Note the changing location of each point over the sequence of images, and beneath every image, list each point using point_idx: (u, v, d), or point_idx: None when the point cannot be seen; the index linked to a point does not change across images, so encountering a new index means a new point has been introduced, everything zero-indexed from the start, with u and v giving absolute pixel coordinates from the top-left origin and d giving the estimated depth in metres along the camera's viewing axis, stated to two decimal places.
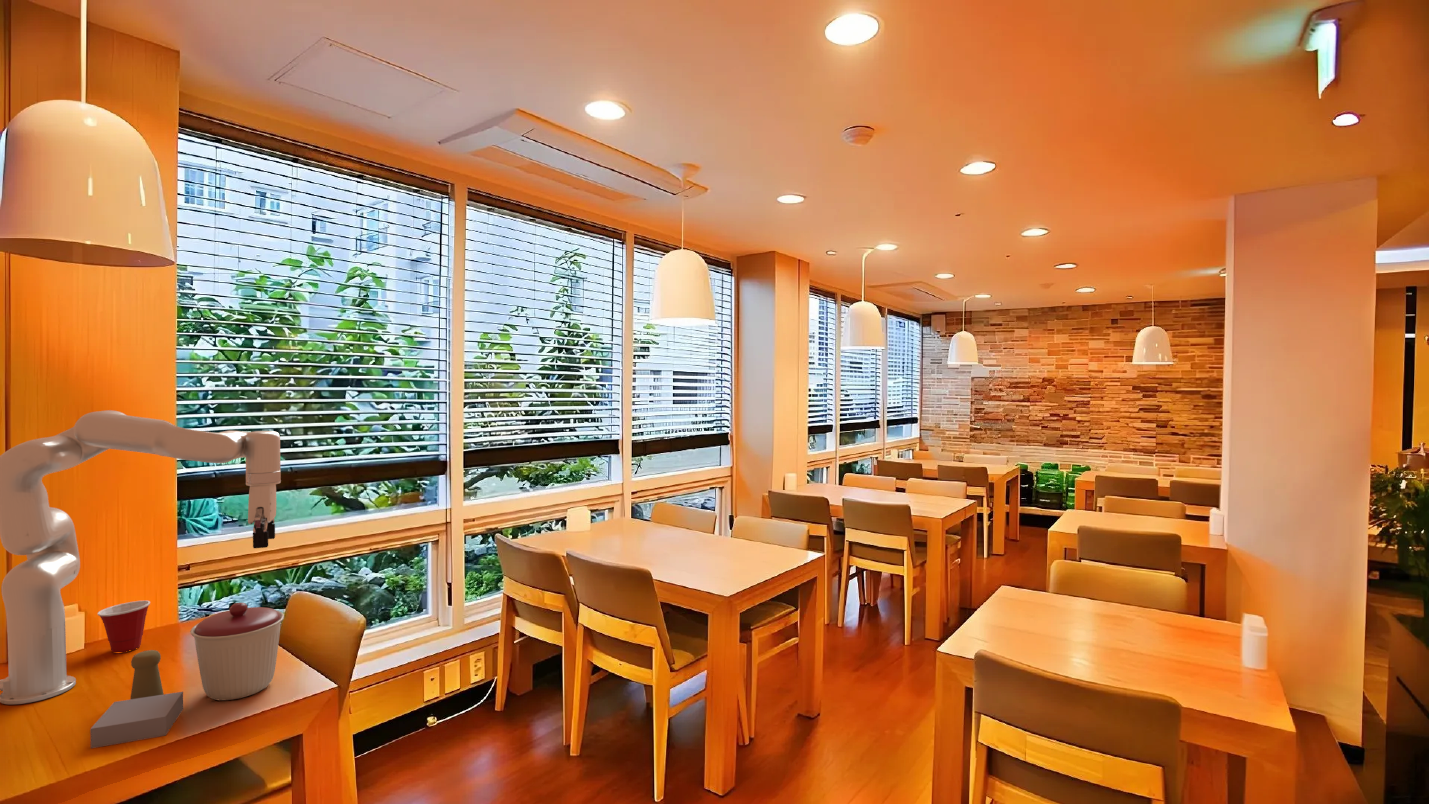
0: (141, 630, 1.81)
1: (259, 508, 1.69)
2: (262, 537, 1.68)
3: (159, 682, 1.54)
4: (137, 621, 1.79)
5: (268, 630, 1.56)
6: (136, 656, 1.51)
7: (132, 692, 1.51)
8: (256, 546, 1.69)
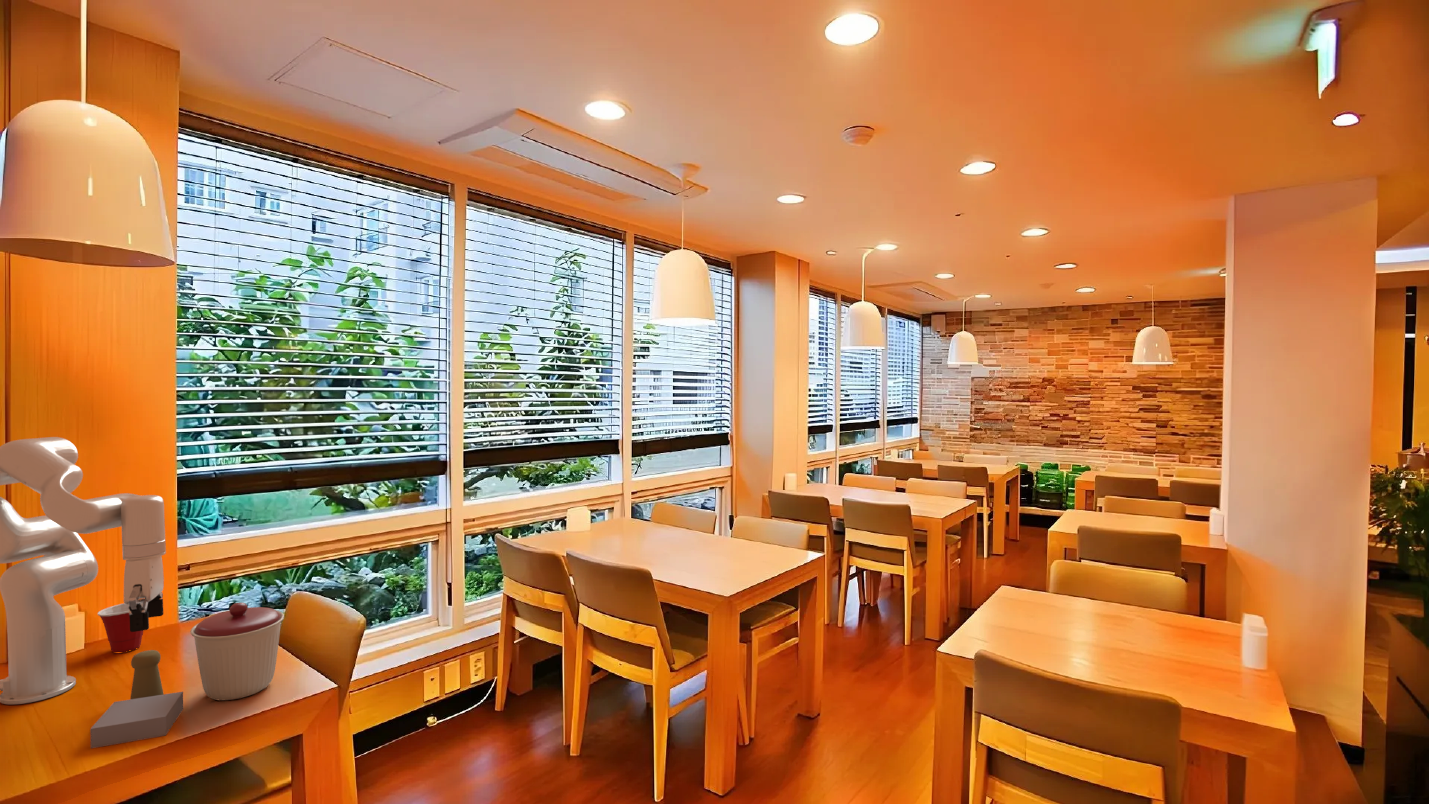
0: None
1: (136, 586, 1.48)
2: (140, 619, 1.48)
3: (159, 682, 1.54)
4: None
5: (268, 630, 1.56)
6: (136, 656, 1.51)
7: (132, 692, 1.51)
8: (134, 629, 1.48)
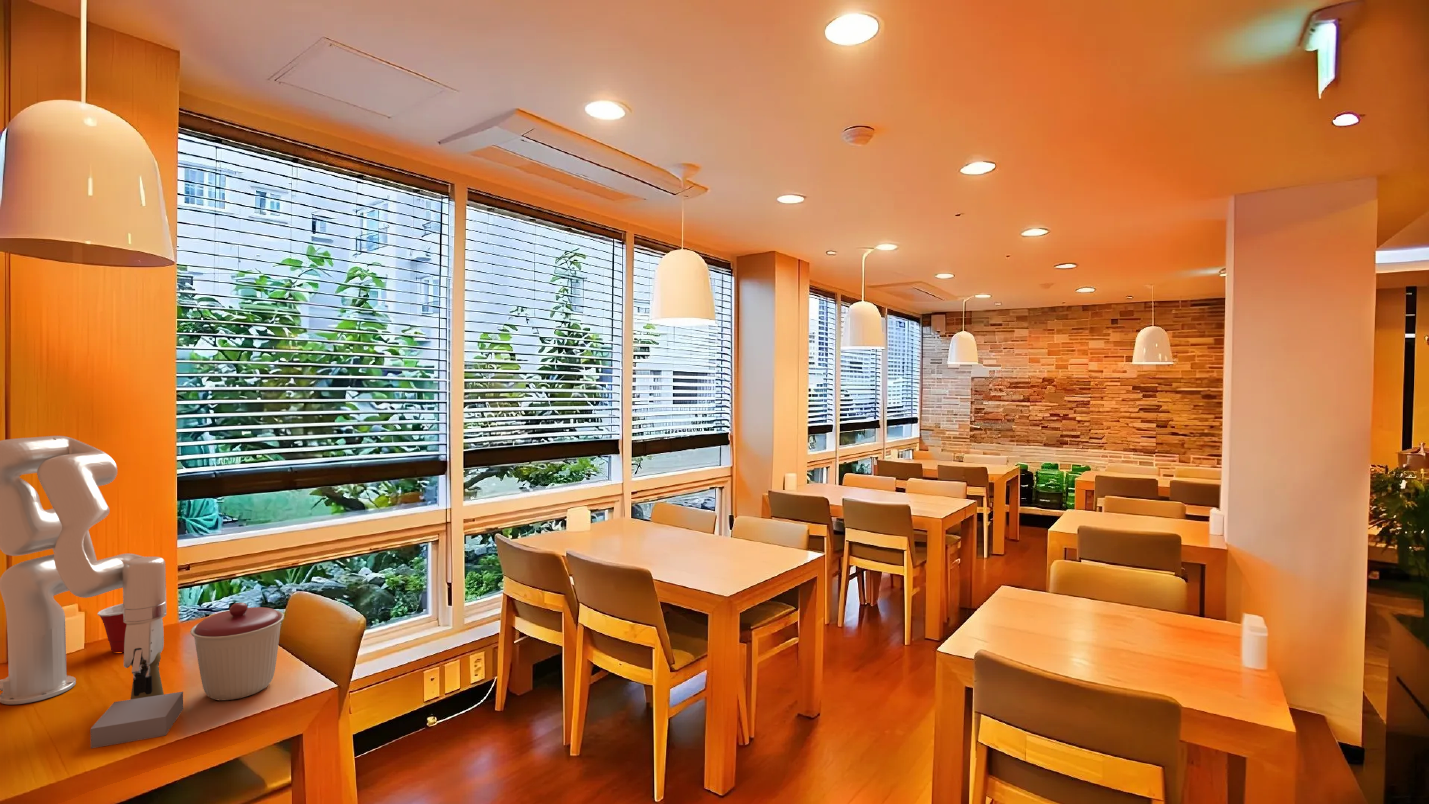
0: None
1: (137, 653, 1.48)
2: (144, 683, 1.50)
3: (159, 682, 1.54)
4: None
5: (268, 630, 1.56)
6: None
7: (132, 692, 1.51)
8: (138, 693, 1.51)
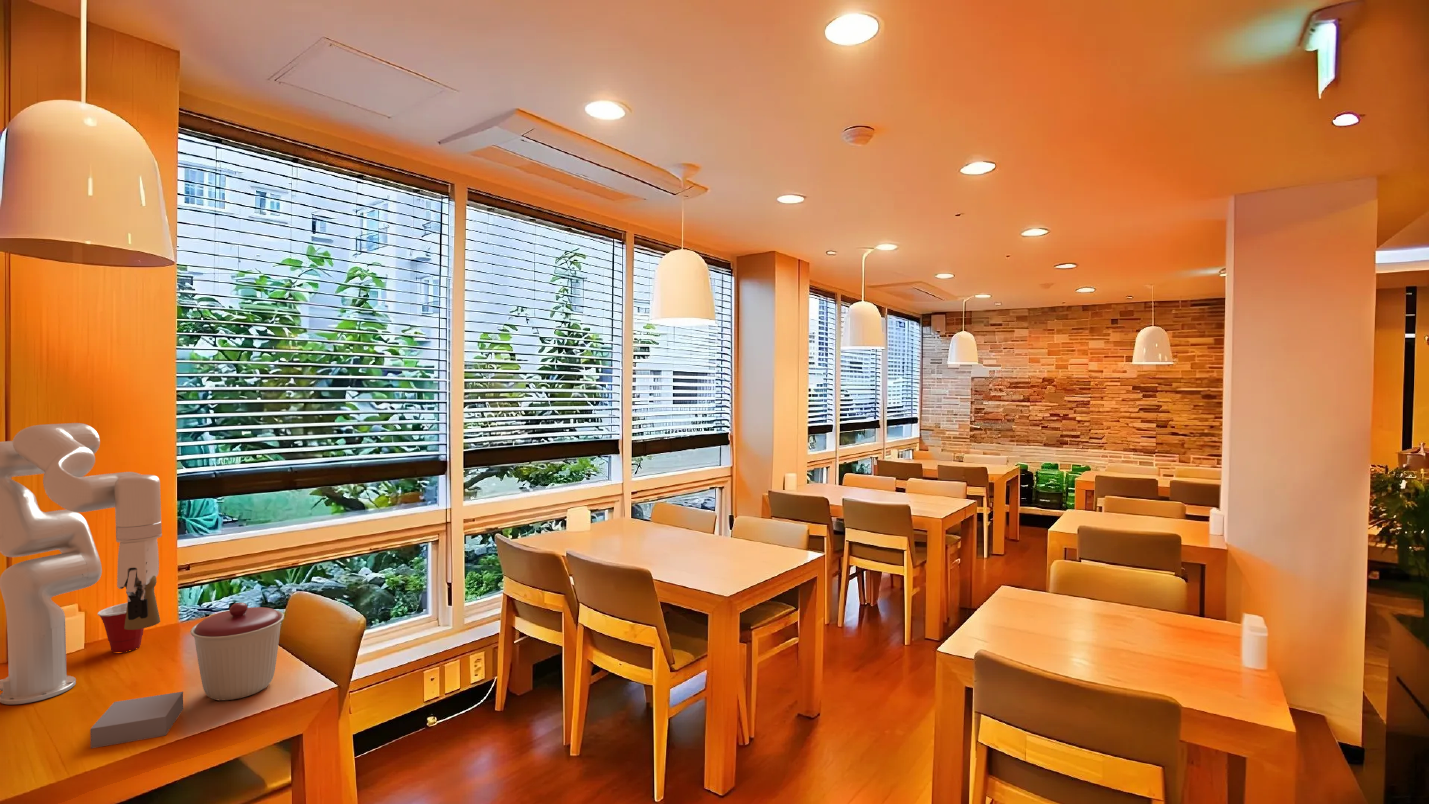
0: (141, 630, 1.81)
1: (132, 573, 1.40)
2: (139, 606, 1.42)
3: (155, 607, 1.46)
4: None
5: (268, 630, 1.56)
6: None
7: (127, 616, 1.43)
8: (132, 617, 1.42)
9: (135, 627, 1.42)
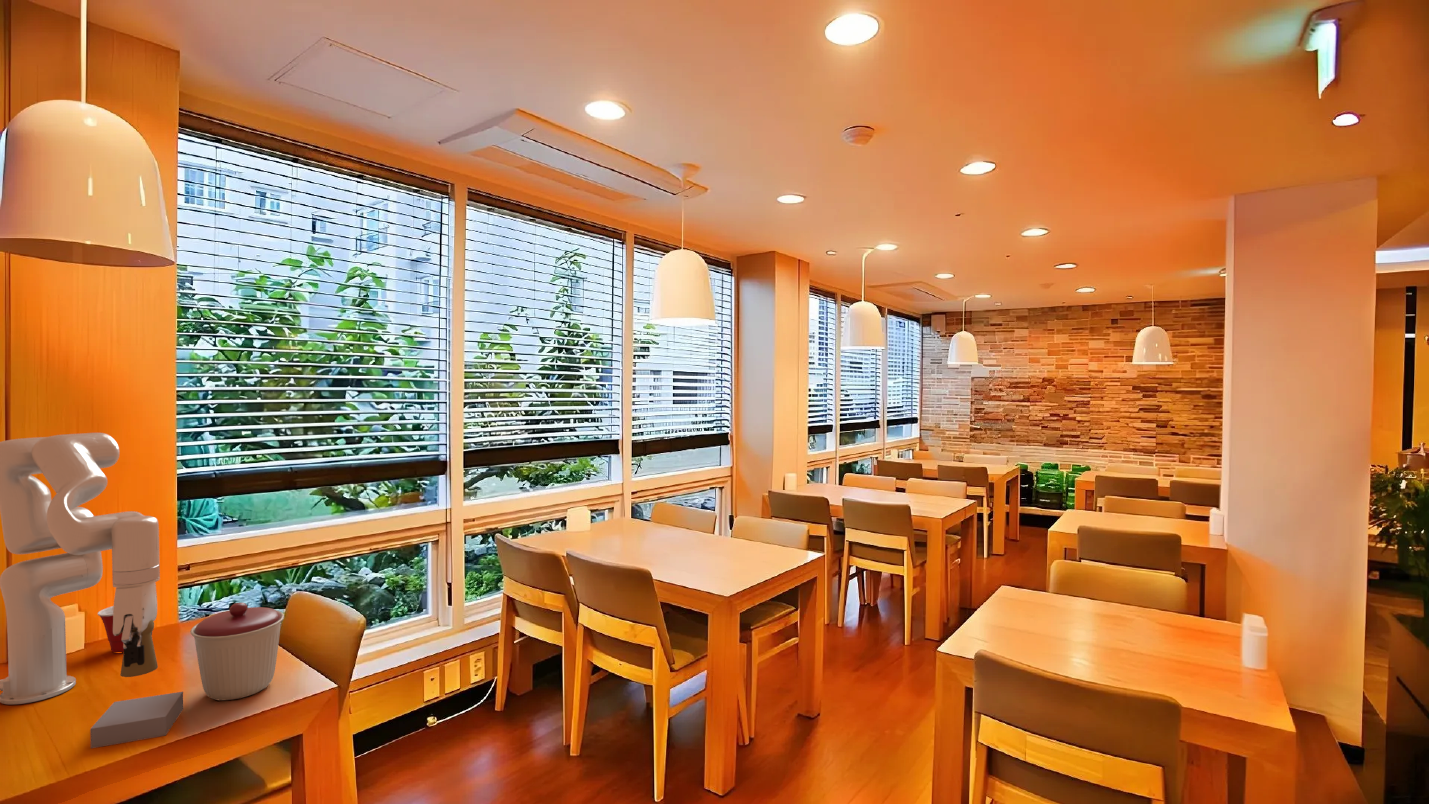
0: None
1: (128, 619, 1.36)
2: (136, 653, 1.38)
3: (153, 652, 1.41)
4: None
5: (268, 630, 1.56)
6: None
7: (123, 663, 1.38)
8: (128, 664, 1.38)
9: (131, 674, 1.38)
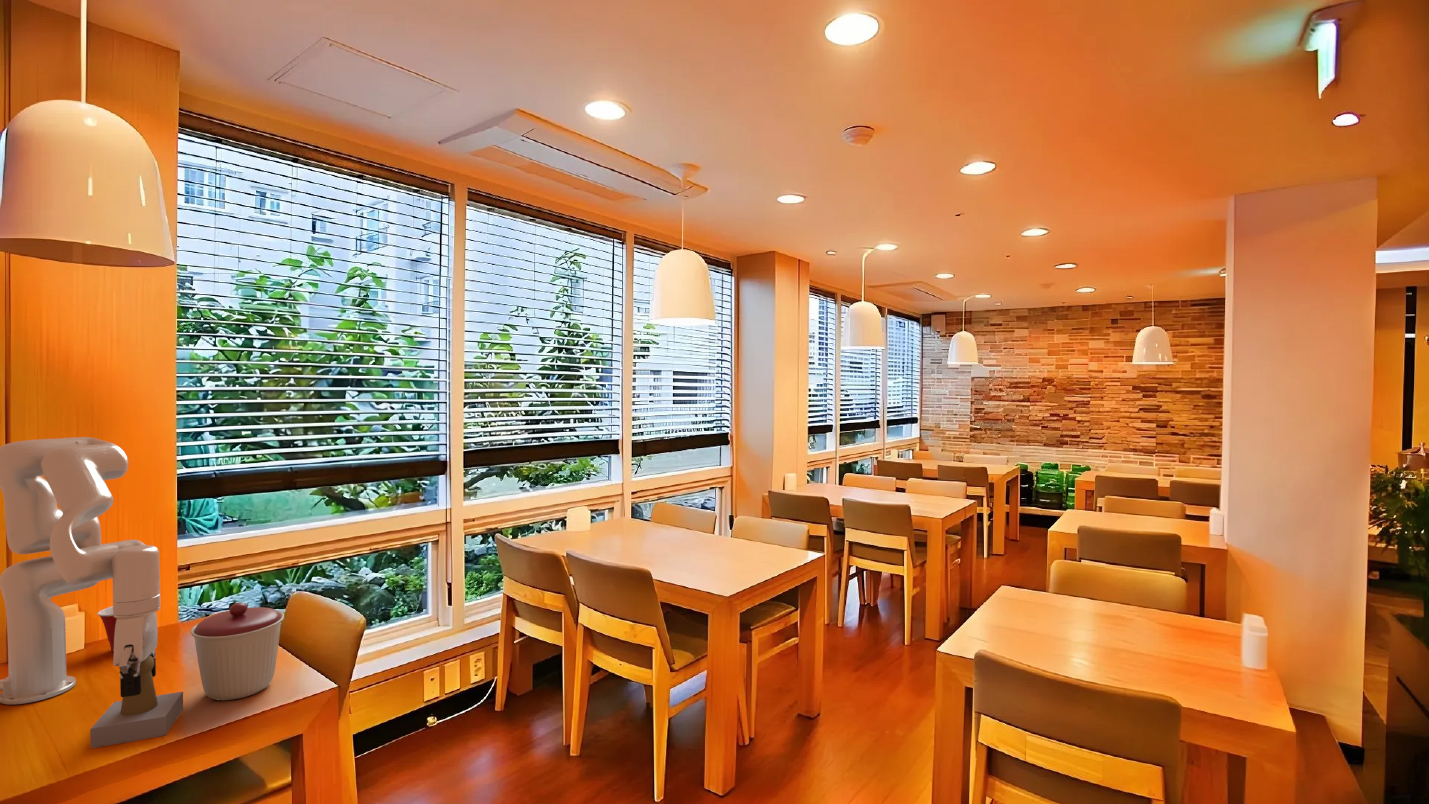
0: None
1: (128, 647, 1.36)
2: (132, 683, 1.36)
3: (152, 690, 1.42)
4: None
5: (268, 630, 1.56)
6: None
7: (123, 701, 1.39)
8: (125, 694, 1.36)
9: (131, 713, 1.38)
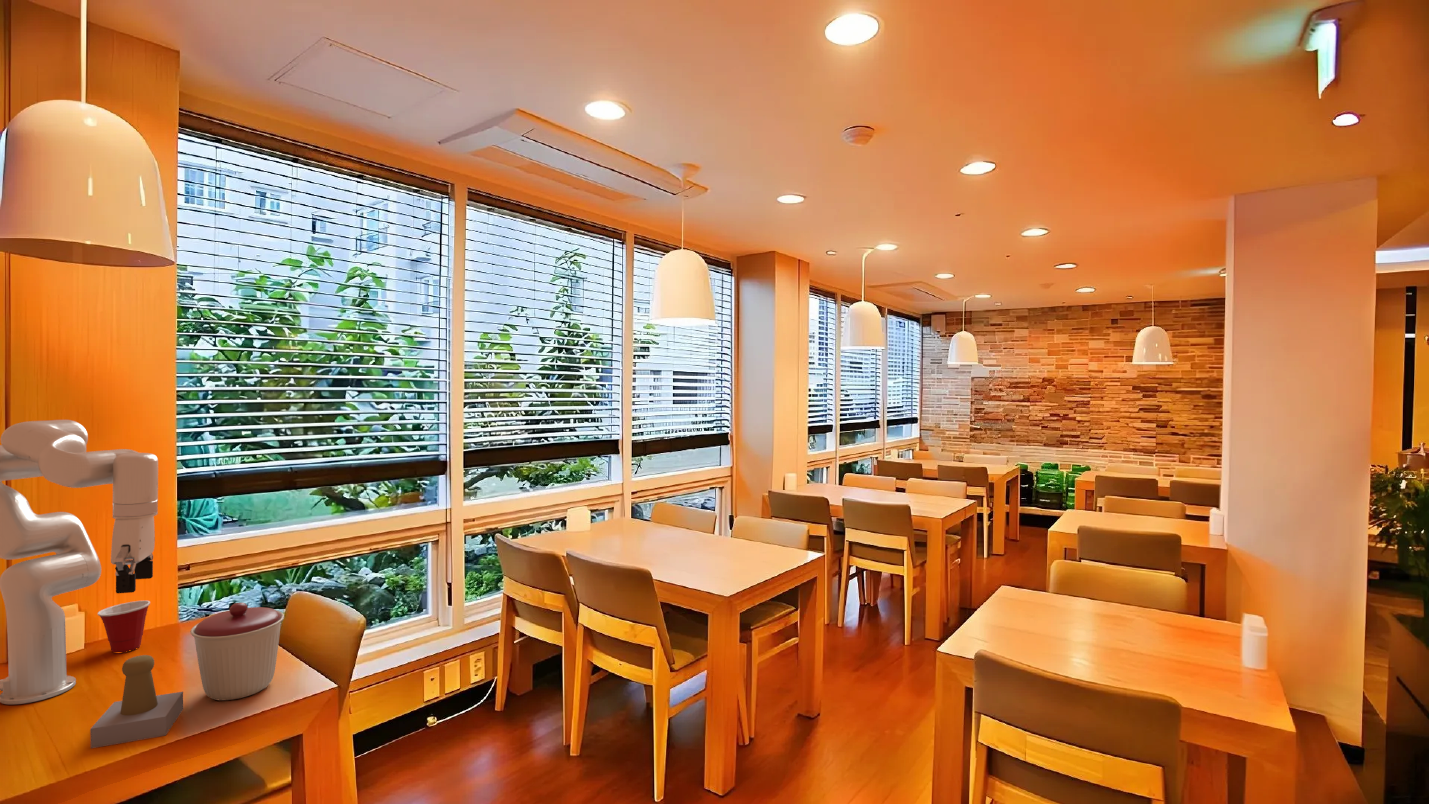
0: (141, 630, 1.81)
1: (125, 546, 1.42)
2: (127, 580, 1.42)
3: (152, 690, 1.42)
4: (137, 621, 1.79)
5: (268, 630, 1.56)
6: (128, 661, 1.39)
7: (123, 701, 1.39)
8: (120, 591, 1.42)
9: (131, 713, 1.38)
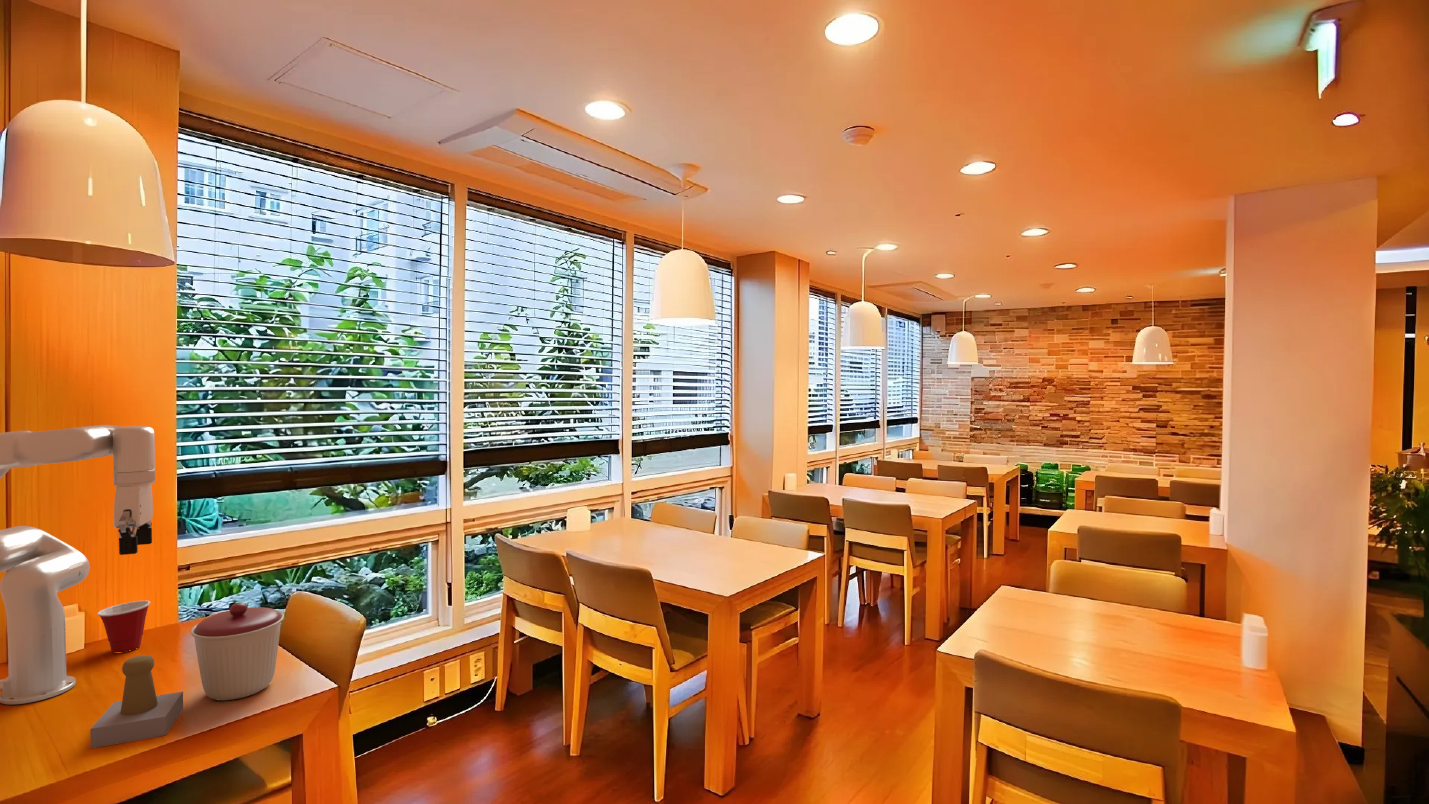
0: (141, 630, 1.81)
1: (126, 511, 1.54)
2: (129, 542, 1.53)
3: (152, 690, 1.42)
4: (137, 621, 1.79)
5: (268, 630, 1.56)
6: (128, 661, 1.39)
7: (123, 701, 1.39)
8: (123, 552, 1.54)
9: (131, 713, 1.38)
